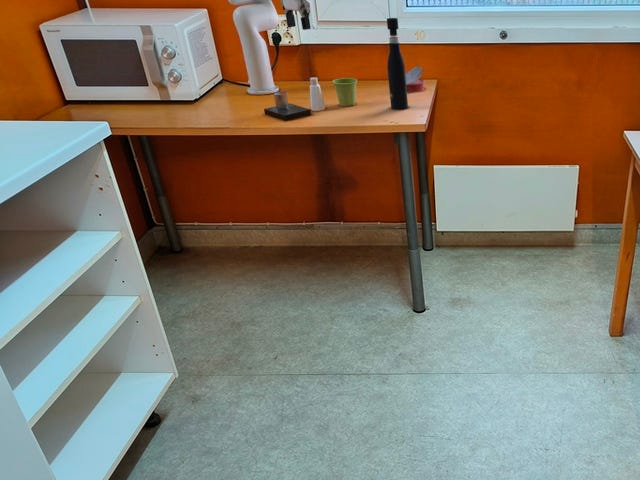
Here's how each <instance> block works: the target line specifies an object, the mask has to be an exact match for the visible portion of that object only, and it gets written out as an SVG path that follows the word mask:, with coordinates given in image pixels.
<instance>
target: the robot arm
mask: <svg viewBox="0 0 640 480" xmlns="http://www.w3.org/2000/svg"><path fill="white" fill-rule="evenodd" d="M227 1H228V2H229V4H231V5H233V6H238V7H236V8H235V9H234V10H233V13H232V19H233V23H234V25H235V28H236V31H237V33H238V37H239V40H240V44H241V48H242V53H243V59H244V62H245V67H246V72H247V77H248V80H247V84H249V86H250V87H248V88H247V89H246V91H247V94H249V95H257V96H259V95H271V94H274V93H277V92H280V91H279V90H280V88H279V86H277V85H275V82H274V77H273V72H272V67H271V61H270V56H269V51H268V45H267V43H266V40H265V39H264V38H263V37H262V36H261V34H260V32H265V31H271V30H275V29H276V28H277V27H278V26H279V23H280V21H279V20H280V19H279V15H278V11H277V10H276V7H275V4H274V3H273V1H272V0H227ZM280 4H281V6H282V10H283V12H284V15H285V19H286V25H287V28H295V27H296V26H297V25H296V20H295V19H296V18H295V14H294V12H298V13H299V15H300V22H301V23H300V24H301V29H302V30H303V31H308V30H311V21H310V16H311V3H310V2H309V0H280Z"/></svg>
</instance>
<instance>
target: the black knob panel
mask: <svg viewBox="0 0 640 480" xmlns="http://www.w3.org/2000/svg"><path fill="white" fill-rule="evenodd" d="M288 106H289V107H288V108H286V109H277V108H276V105H275V106H270V107H265V108H263V112H264V115H265V116H268V117H272V118H275V119H278V120H281V121H284V122H288V121H292V120H296V119H300V118H304V117H305V118H306V117H309V116H312V110H311V108H307V107H303V106H300V105H297V104H293V103H290V102H288Z"/></svg>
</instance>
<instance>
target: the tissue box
mask: <svg viewBox="0 0 640 480" xmlns="http://www.w3.org/2000/svg"><path fill="white" fill-rule="evenodd" d="M422 68H423V67H421V66H416V67H413V68H411V69H409V71H407V72H405V74H406V87H407V93H418V92H422V91H424V90H425V81H424V80H423V79H420V78H421V76H422V73H423V69H422Z"/></svg>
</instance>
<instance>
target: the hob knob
mask: <svg viewBox="0 0 640 480" xmlns="http://www.w3.org/2000/svg"><path fill="white" fill-rule="evenodd" d="M273 97H274V102H275V106H276V108H277V109H286V108H288V107H289V106H288V103H289V100H288V96H287V92H286V91H277V92H275V93H273Z"/></svg>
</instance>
